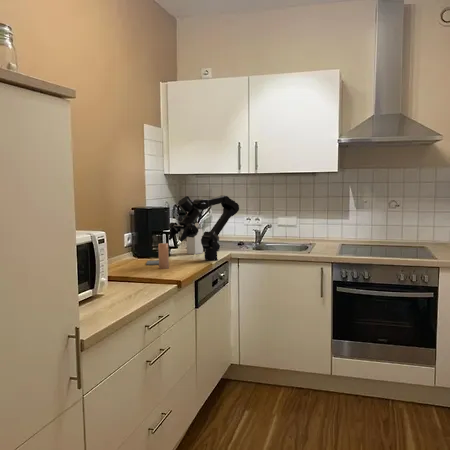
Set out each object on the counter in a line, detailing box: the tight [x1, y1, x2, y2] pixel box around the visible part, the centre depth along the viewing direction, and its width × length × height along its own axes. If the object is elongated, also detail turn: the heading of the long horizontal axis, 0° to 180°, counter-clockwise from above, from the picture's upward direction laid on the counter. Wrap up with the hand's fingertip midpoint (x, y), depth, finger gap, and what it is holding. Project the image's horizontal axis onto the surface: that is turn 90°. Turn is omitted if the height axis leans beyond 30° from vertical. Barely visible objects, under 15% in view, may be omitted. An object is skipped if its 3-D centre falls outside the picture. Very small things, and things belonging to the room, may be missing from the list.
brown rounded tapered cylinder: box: [158, 242, 170, 270], centre depth 238 cm, size 5×5×12 cm
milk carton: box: [186, 222, 204, 255], centre depth 288 cm, size 7×7×19 cm
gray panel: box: [145, 259, 159, 266], centre depth 254 cm, size 11×11×1 cm
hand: (174, 240), depth 243 cm, fingers open, 9 cm apart
